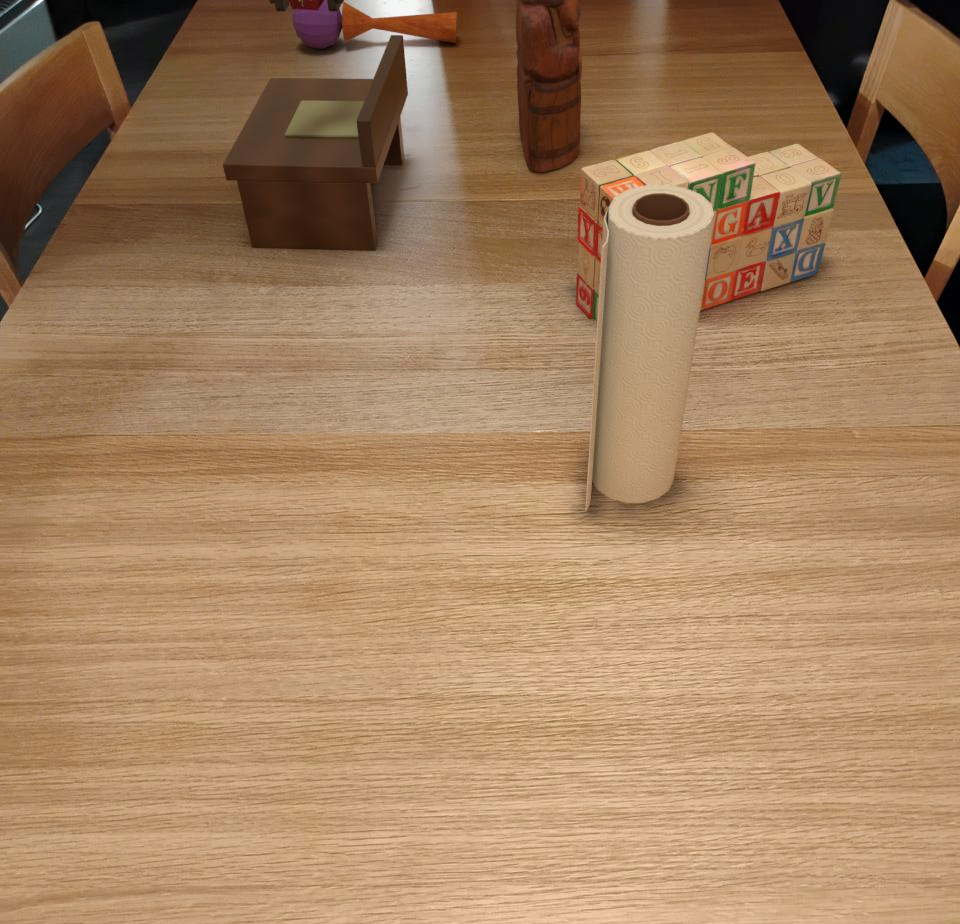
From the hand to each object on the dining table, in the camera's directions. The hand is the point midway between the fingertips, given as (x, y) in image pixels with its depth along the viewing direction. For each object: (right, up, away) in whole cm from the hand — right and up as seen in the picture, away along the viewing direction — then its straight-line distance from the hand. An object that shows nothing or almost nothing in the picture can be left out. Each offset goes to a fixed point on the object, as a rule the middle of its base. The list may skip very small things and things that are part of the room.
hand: (308, 7), depth 86 cm
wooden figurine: (+22, -3, +20) cm, 30 cm away
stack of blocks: (+34, -24, +2) cm, 42 cm away
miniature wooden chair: (0, -10, +14) cm, 18 cm away
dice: (0, 0, 0) cm, 0 cm away
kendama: (+2, +19, +38) cm, 43 cm away
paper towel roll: (+25, -44, -13) cm, 52 cm away
